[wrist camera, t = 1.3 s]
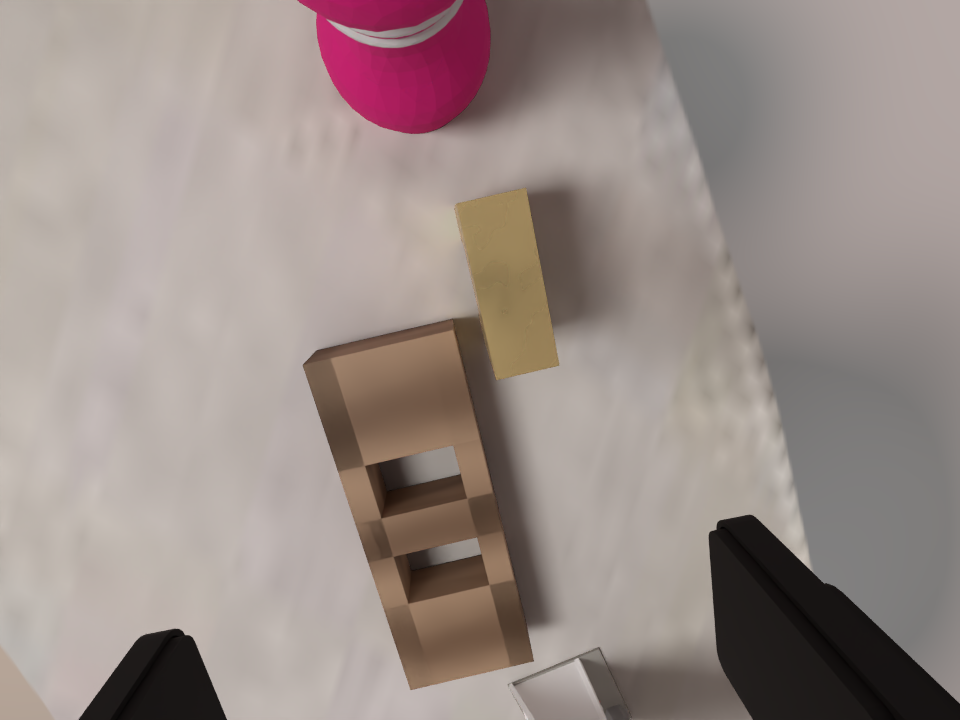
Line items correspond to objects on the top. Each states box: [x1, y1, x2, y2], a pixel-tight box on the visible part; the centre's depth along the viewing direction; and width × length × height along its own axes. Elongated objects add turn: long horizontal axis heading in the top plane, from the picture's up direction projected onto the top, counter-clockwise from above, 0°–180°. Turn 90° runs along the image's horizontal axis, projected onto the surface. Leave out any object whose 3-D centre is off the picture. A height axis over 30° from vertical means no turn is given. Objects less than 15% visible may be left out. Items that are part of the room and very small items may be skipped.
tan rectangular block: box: [454, 188, 559, 380], centre depth 26 cm, size 8×3×7 cm, turn 12°
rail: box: [303, 319, 534, 690], centre depth 31 cm, size 22×8×3 cm, turn 13°
